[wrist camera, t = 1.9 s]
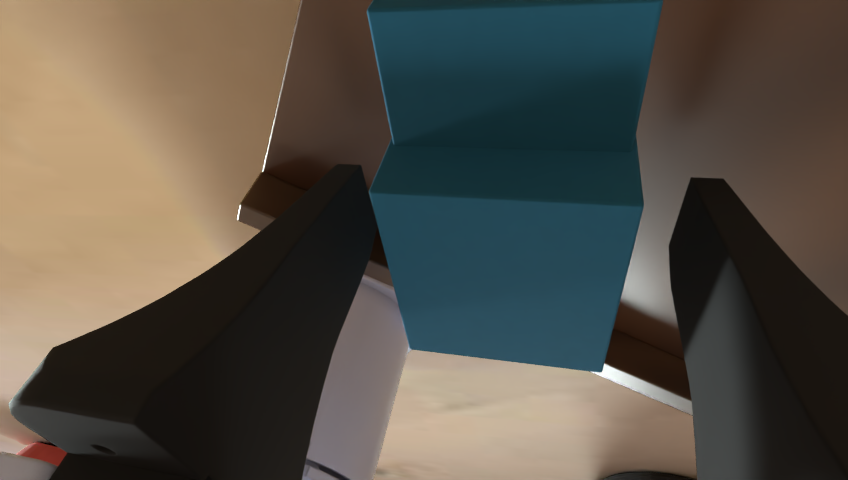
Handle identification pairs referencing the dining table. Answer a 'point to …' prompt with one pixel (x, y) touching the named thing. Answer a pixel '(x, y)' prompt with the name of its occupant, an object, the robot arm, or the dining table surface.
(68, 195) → the dining table surface
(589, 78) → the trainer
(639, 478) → the pen holder
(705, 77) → the shoe rack
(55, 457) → the citrus juicer
